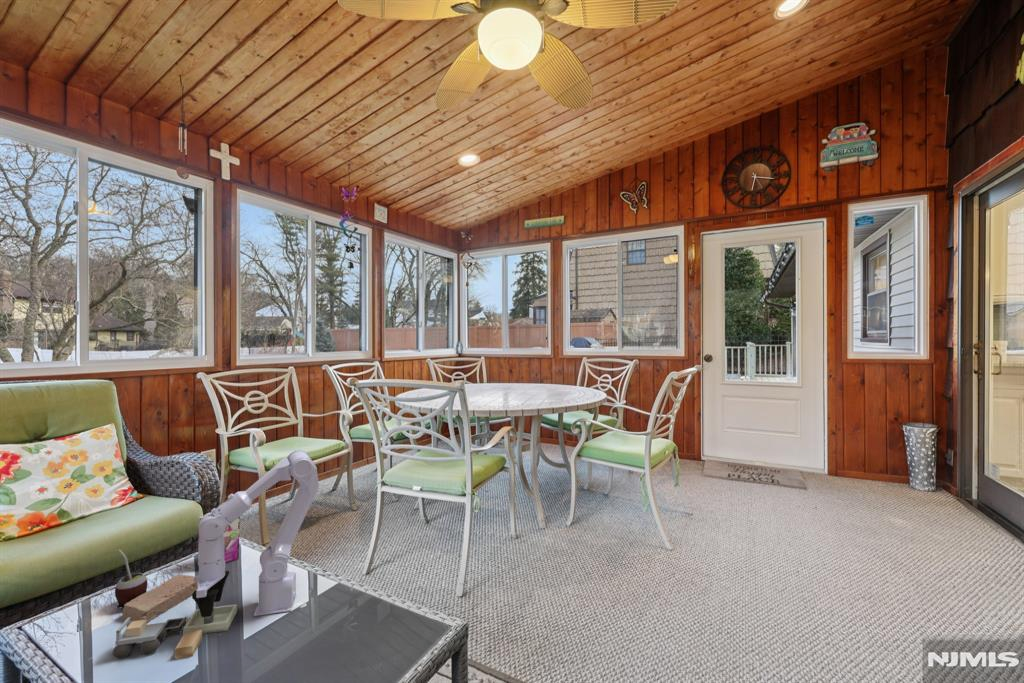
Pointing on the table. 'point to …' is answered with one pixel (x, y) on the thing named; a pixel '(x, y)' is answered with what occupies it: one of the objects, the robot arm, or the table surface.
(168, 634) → the socket
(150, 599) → the brick
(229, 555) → the candy bar box
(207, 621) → the pin
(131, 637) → the trolley
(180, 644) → the block
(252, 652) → the table surface
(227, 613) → the tray
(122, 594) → the mate gourd
